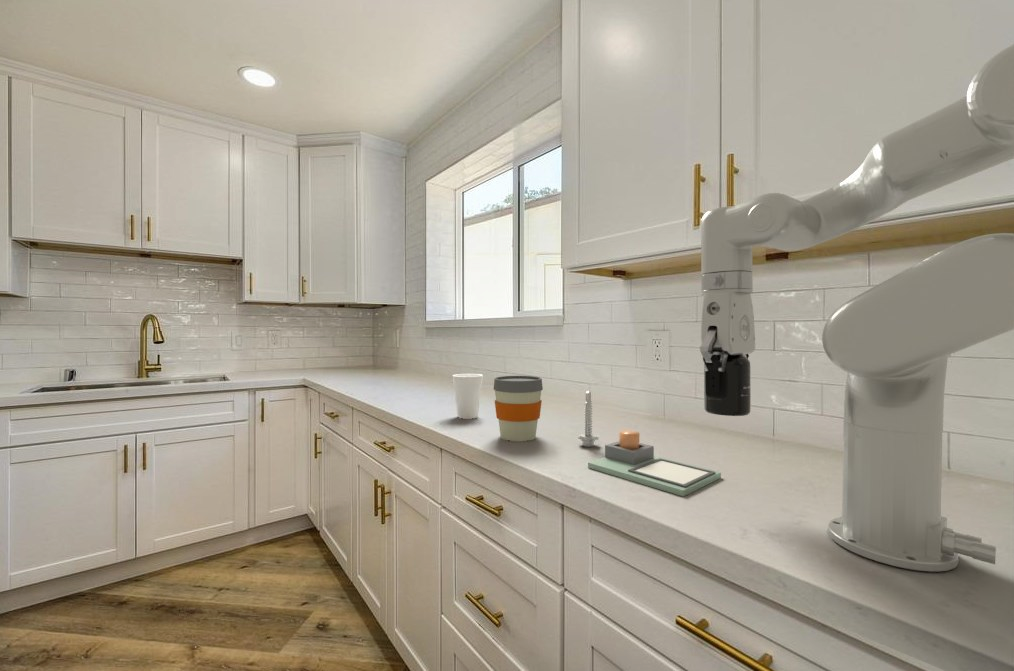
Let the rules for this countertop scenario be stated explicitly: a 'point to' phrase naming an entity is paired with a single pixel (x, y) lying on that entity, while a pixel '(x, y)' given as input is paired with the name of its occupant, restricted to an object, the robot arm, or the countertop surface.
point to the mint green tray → (653, 469)
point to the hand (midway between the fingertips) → (727, 393)
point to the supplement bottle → (732, 389)
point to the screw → (588, 424)
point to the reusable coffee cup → (518, 406)
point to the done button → (629, 439)
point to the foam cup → (467, 394)
